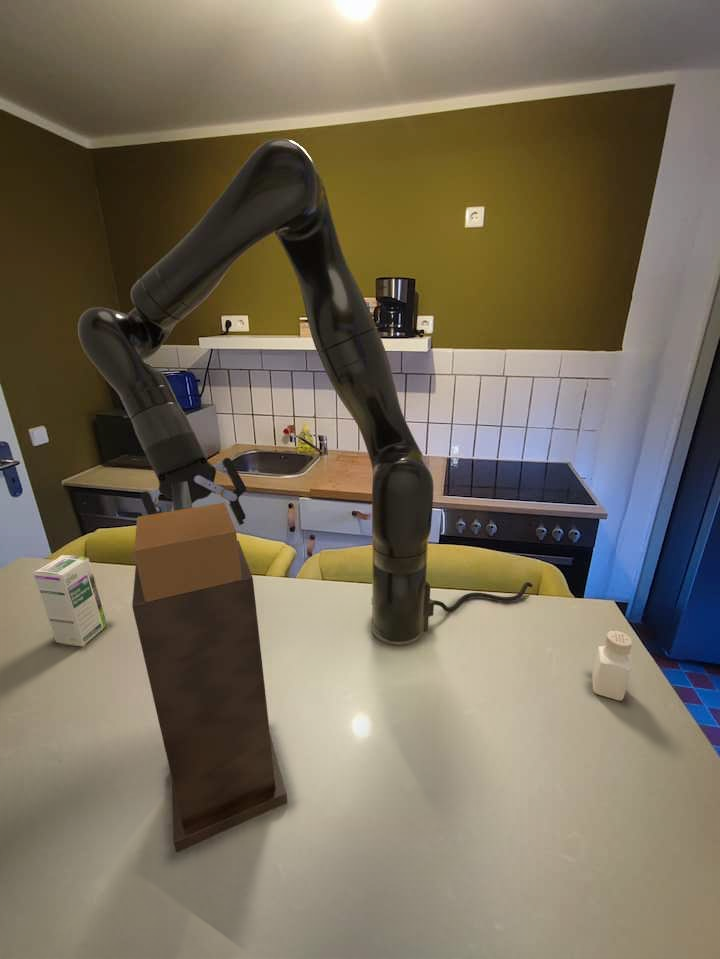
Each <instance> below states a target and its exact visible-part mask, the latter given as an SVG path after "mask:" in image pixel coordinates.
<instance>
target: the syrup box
mask: <svg viewBox="0 0 720 959" xmlns="http://www.w3.org/2000/svg"><path fill="white" fill-rule="evenodd" d="M32 575H33V578H34V581H35V584H36V585H35V586H36V588H37V590H38V594H39V596H40V599H41V602H42V605H43V608H44V611H45V615H46V617H47V620H48V623H49V626H50V628H51V632H52V634H53V638H54V640H55V643H58V644H63V645H69V646H76V647H82V648H83V647H85V646H86V645H87V643H88V642H90V641H91V640H92V639H93V638H94V637H96V636H97V635H98V634H99V633H100V632H101V631H103V629H105V628H106V627H107V626H108V623H107V619H106V615H105V612H104V608H103V605H102V601H101V598H100V594H99V591H98V586H97V583H96V580H95V576H94V573H93V569H92V565H91V562H90V558H89V557H86V556H80V555H72V554H70V555H69V554H61V555H60V556H58V557H57V558H56V559H53V561H50V562H49V563H47V564H45V565H44V566H42V567H40V568H39V569H37V570H35V571H33V572H32Z"/></svg>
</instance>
